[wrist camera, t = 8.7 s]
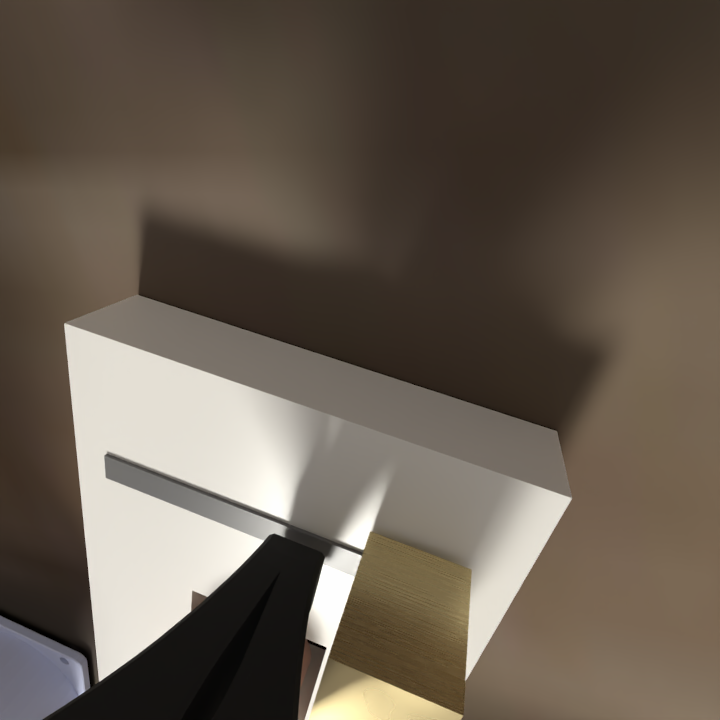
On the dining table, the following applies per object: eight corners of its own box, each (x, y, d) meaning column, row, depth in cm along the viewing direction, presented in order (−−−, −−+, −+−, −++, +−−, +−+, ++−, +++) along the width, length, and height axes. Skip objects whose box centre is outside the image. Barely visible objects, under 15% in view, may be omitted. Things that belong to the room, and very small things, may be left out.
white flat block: (143, 676, 22) (102, 735, 20) (137, 294, 13) (60, 324, 11) (375, 784, 20) (360, 863, 18) (556, 431, 11) (572, 501, 9)
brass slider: (345, 610, 12) (301, 741, 9) (370, 531, 10) (328, 658, 8) (433, 646, 11) (415, 793, 9) (471, 569, 10) (463, 716, 7)
